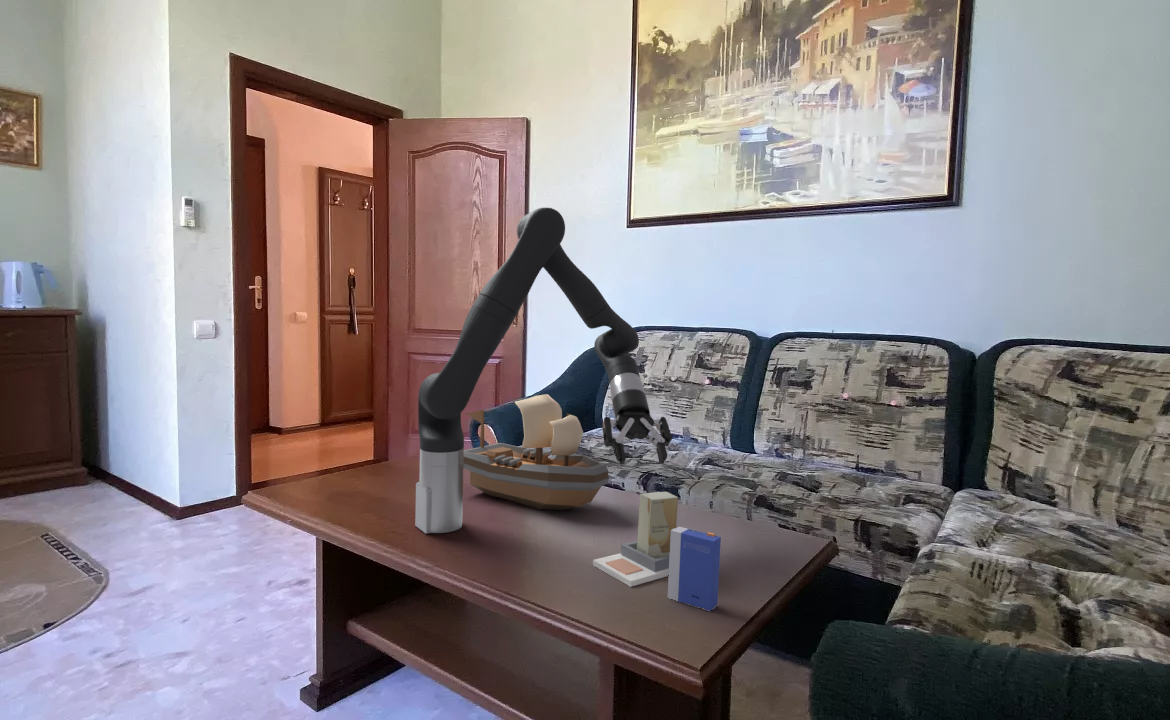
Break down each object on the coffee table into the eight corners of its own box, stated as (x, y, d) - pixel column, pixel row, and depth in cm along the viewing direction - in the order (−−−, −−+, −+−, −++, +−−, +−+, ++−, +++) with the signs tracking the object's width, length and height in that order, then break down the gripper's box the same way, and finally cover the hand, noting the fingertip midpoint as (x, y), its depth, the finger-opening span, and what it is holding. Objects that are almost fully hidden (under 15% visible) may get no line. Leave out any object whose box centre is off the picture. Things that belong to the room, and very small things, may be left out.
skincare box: (647, 564, 117) (650, 499, 116) (635, 556, 121) (638, 493, 120) (676, 559, 120) (679, 496, 119) (663, 551, 123) (666, 490, 123)
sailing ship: (579, 527, 139) (583, 405, 137) (440, 489, 165) (442, 386, 163) (618, 509, 153) (623, 399, 151) (484, 477, 178) (487, 382, 177)
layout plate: (630, 586, 109) (631, 569, 109) (592, 565, 118) (593, 549, 118) (695, 567, 118) (696, 552, 118) (656, 549, 127) (657, 534, 127)
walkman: (717, 606, 103) (721, 534, 102) (710, 612, 101) (713, 539, 100) (674, 592, 107) (677, 523, 107) (666, 598, 105) (670, 528, 104)
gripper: (601, 387, 134) (613, 452, 124) (664, 388, 137) (681, 451, 127) (594, 408, 140) (605, 472, 129) (654, 408, 143) (670, 470, 132)
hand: (643, 461), depth 128 cm, fingers open, 8 cm apart
